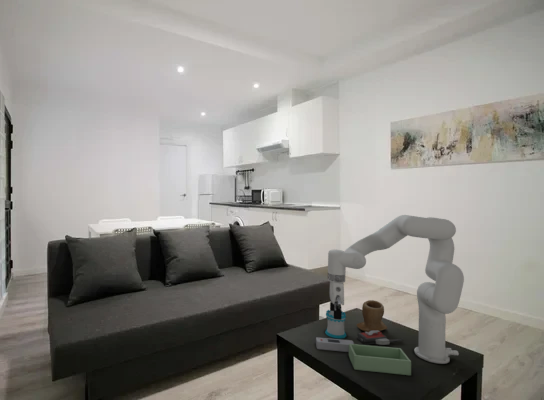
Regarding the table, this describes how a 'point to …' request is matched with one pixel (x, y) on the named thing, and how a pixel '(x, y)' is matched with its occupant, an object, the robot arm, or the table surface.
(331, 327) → the model tower
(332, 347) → the remote
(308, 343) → the table surface
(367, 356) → the tray
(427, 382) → the table surface
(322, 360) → the table surface
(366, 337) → the walkie-talkie
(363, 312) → the brown flared hollow piece
